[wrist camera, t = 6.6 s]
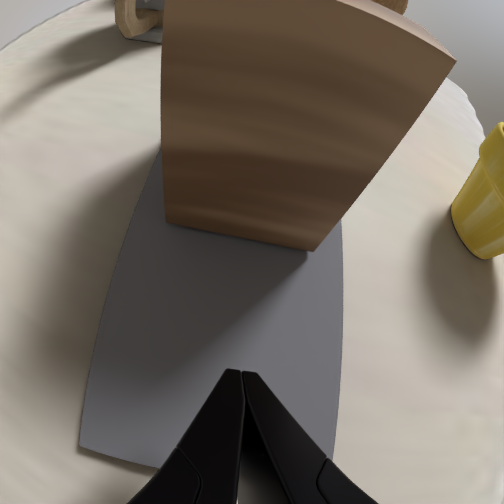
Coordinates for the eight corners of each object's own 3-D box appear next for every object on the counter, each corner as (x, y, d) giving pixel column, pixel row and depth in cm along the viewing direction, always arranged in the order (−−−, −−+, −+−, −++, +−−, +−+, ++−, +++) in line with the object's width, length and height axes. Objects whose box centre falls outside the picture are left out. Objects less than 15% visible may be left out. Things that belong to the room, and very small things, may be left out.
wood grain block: (313, 252, 16) (456, 60, 6) (165, 222, 15) (168, -30, 5) (311, 111, 22) (368, -18, 12) (214, 88, 21) (242, -52, 11)
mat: (321, 474, 12) (329, 478, 11) (85, 442, 11) (78, 445, 10) (328, 130, 24) (332, 122, 23) (189, 98, 22) (189, 89, 21)
